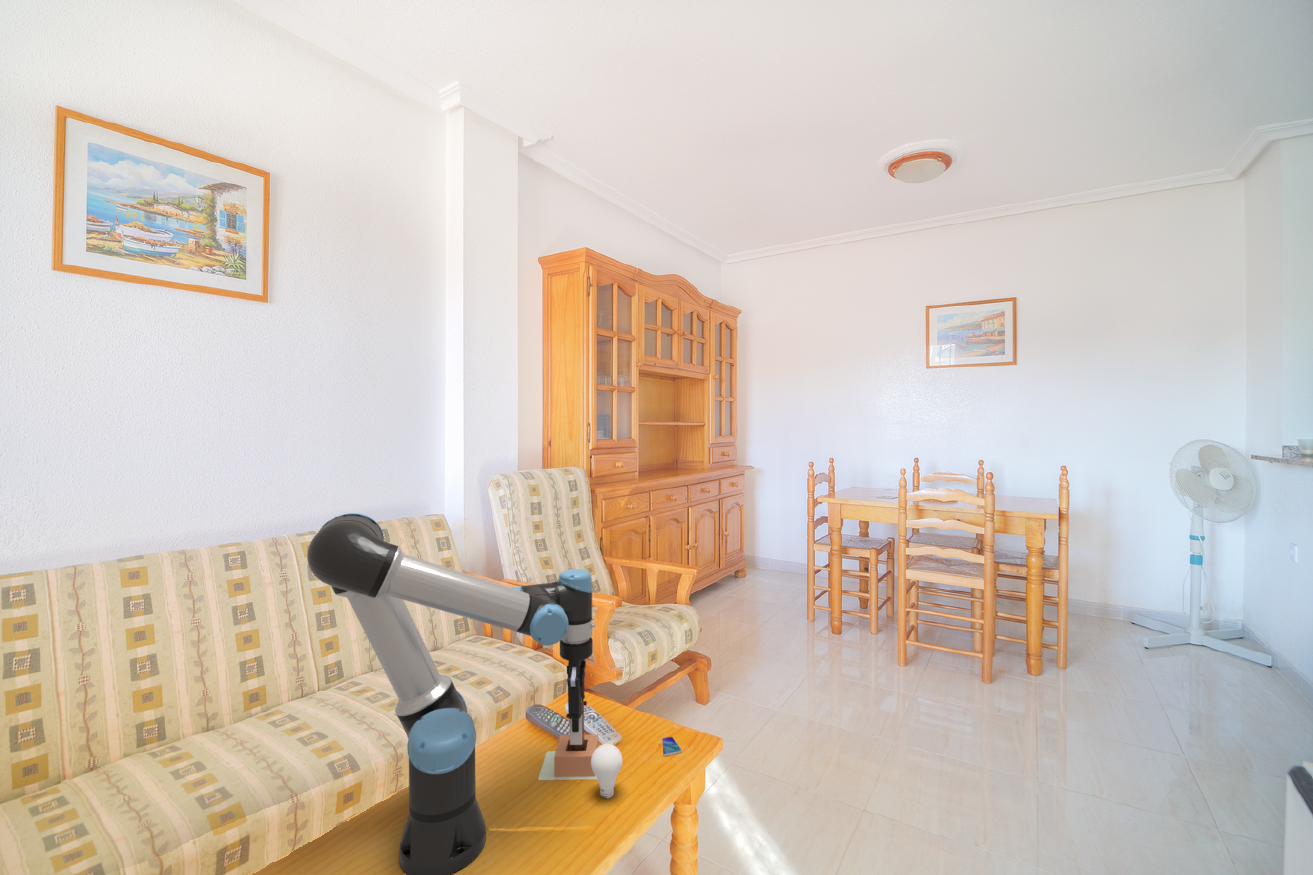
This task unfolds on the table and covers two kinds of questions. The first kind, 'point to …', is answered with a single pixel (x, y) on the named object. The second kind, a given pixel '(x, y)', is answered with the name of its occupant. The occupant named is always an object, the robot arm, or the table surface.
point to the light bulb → (606, 767)
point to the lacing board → (548, 770)
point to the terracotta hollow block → (574, 757)
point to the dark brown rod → (581, 747)
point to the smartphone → (670, 747)
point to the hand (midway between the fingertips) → (577, 739)
